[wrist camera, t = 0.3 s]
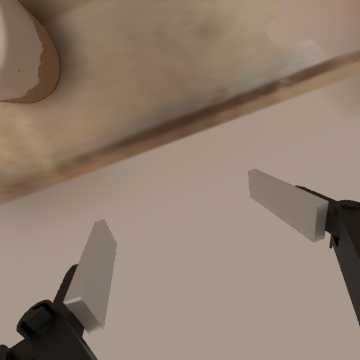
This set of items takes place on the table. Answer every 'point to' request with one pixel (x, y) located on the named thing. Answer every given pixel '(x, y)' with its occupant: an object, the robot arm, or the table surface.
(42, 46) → the vase
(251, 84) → the table surface
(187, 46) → the table surface
